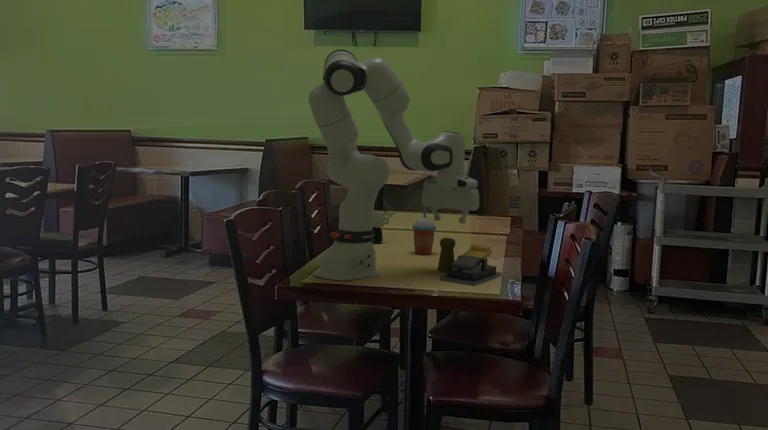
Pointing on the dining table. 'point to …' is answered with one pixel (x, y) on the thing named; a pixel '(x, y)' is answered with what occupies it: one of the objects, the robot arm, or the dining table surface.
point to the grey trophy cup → (378, 224)
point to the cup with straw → (423, 235)
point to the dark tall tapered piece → (446, 254)
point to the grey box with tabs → (472, 274)
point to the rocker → (472, 257)
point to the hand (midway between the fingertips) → (449, 221)
